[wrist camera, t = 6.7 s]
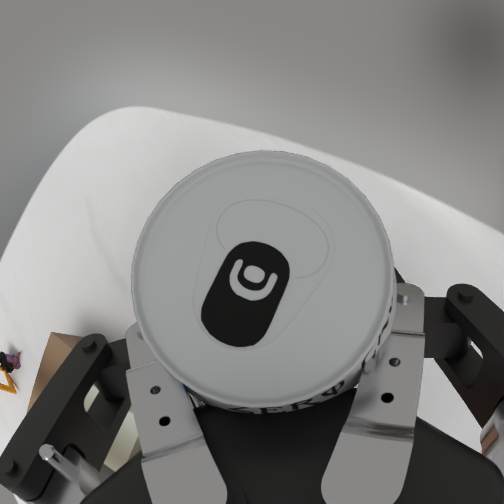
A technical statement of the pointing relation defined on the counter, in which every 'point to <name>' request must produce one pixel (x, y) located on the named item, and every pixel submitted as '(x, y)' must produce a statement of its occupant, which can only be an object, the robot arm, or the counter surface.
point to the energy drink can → (264, 282)
